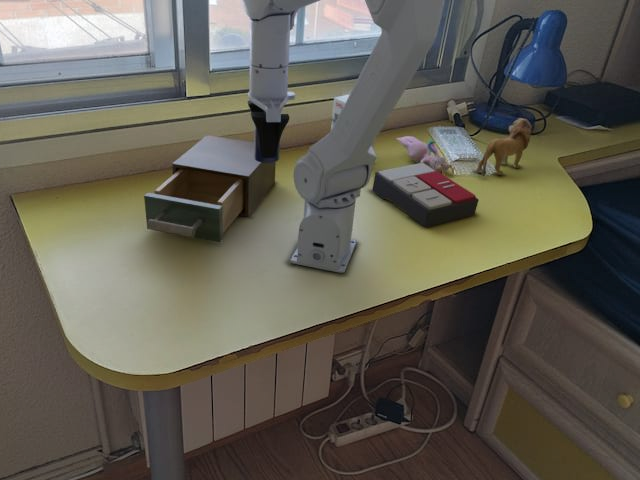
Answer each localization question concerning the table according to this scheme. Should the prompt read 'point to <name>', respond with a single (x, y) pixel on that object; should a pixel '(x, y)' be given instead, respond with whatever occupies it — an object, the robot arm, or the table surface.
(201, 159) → the cabinet
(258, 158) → the ink bottle
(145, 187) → the table surface
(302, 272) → the table surface
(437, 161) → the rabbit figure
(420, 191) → the calculator
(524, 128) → the lion figurine
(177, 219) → the drawer
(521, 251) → the table surface
